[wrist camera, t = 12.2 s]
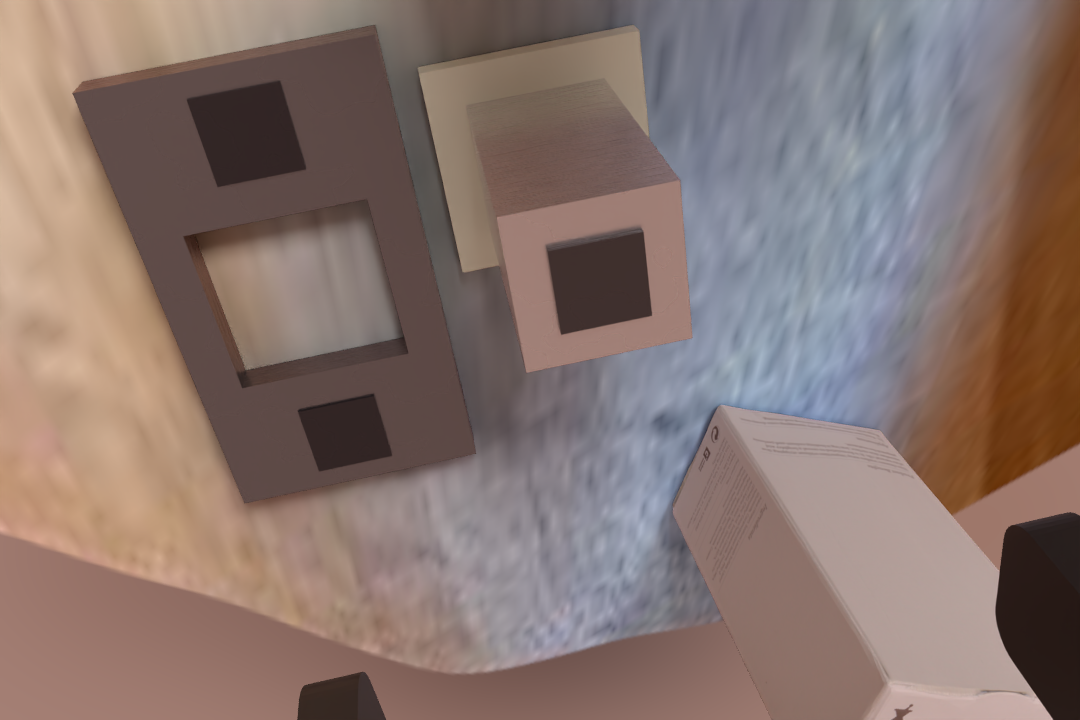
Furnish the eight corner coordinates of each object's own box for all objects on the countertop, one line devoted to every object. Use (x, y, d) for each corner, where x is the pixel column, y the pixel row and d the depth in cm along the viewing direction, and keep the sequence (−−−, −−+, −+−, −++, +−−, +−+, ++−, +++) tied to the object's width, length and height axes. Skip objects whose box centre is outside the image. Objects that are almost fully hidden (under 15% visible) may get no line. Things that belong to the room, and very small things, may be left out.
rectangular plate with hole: (374, 24, 30) (375, 34, 29) (473, 435, 38) (476, 455, 37) (82, 82, 29) (71, 94, 28) (248, 483, 38) (244, 505, 37)
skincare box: (667, 506, 42) (793, 823, 29) (718, 391, 39) (882, 688, 27) (835, 530, 44) (1018, 834, 32) (895, 423, 41) (1123, 710, 29)
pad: (633, 24, 31) (639, 30, 30) (652, 223, 35) (658, 232, 34) (417, 66, 31) (418, 73, 30) (461, 262, 34) (462, 272, 34)
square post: (604, 78, 31) (682, 183, 23) (619, 207, 33) (694, 341, 26) (465, 105, 31) (497, 220, 23) (490, 233, 33) (527, 376, 25)
